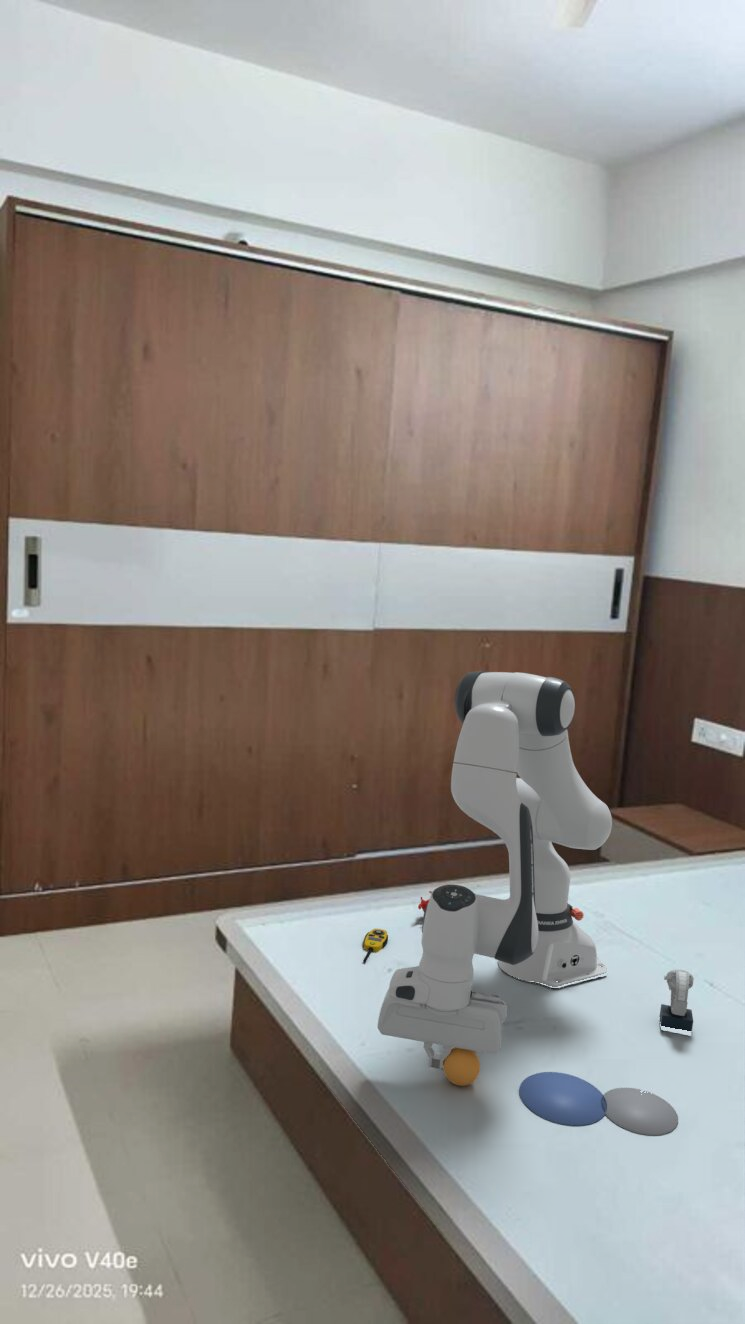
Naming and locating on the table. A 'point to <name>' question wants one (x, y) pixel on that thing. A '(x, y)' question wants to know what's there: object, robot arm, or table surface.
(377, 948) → the remote control
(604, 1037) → the table surface
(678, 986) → the grey black upright piece
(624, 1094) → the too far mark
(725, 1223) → the table surface
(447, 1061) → the ball
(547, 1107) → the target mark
